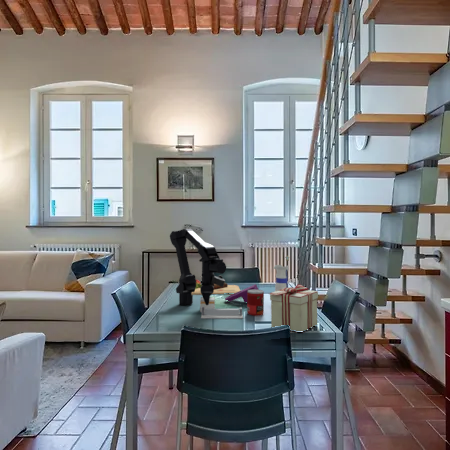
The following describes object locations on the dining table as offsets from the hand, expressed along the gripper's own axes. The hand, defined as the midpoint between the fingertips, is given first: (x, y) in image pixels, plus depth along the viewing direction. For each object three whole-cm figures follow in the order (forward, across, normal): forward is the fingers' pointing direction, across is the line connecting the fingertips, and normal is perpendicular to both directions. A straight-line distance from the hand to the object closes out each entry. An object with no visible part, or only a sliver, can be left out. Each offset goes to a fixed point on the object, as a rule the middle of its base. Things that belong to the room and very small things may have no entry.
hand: (207, 303), depth 191 cm
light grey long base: (+4, -10, -7) cm, 13 cm away
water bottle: (+4, +23, -40) cm, 46 cm away
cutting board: (+5, +50, -1) cm, 50 cm away
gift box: (+4, -27, -36) cm, 45 cm away
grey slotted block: (+4, 0, 0) cm, 4 cm away
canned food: (+4, -6, -23) cm, 24 cm away
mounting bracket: (+4, +18, -18) cm, 26 cm away
